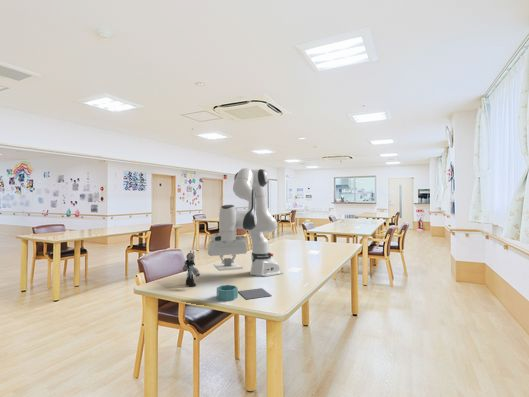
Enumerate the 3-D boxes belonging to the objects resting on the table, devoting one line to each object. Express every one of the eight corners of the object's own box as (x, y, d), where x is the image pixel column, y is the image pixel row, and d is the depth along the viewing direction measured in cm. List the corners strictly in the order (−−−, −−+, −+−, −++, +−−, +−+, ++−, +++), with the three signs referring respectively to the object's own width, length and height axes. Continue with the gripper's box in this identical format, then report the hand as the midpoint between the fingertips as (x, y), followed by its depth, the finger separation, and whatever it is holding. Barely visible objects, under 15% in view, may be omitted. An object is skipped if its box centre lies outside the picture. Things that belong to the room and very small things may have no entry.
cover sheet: (235, 264, 164) (235, 255, 164) (242, 268, 153) (242, 259, 153) (213, 266, 160) (213, 257, 160) (219, 270, 148) (219, 261, 149)
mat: (261, 288, 171) (261, 288, 171) (271, 296, 158) (271, 295, 158) (238, 291, 166) (238, 291, 166) (246, 299, 153) (246, 298, 153)
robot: (180, 282, 185) (179, 249, 185) (187, 281, 188) (187, 248, 188) (194, 289, 170) (194, 254, 170) (202, 288, 173) (201, 253, 173)
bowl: (233, 293, 163) (233, 284, 163) (239, 299, 154) (239, 289, 154) (215, 295, 159) (215, 286, 159) (219, 301, 150) (219, 291, 150)
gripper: (245, 235, 163) (244, 260, 163) (207, 236, 156) (206, 263, 156) (248, 236, 158) (248, 263, 157) (209, 238, 150) (209, 266, 150)
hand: (227, 263), depth 156 cm, fingers closed on cover sheet, 3 cm apart
